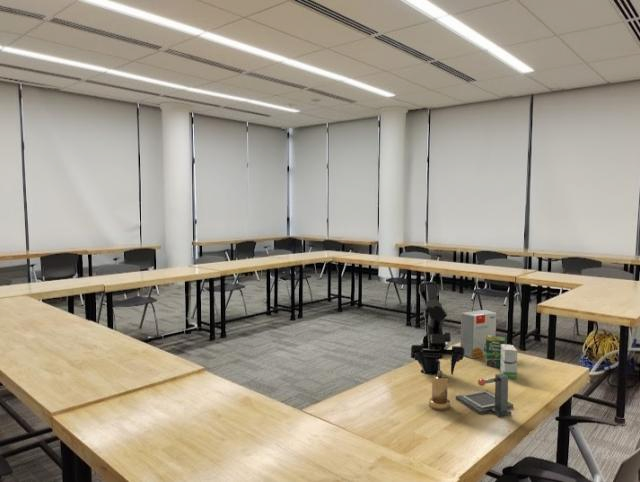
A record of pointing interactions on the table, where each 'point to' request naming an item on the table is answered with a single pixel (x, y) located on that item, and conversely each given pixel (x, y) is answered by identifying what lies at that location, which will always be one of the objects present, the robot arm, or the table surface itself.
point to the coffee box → (494, 350)
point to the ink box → (508, 361)
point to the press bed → (489, 398)
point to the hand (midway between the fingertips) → (438, 374)
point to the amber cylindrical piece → (439, 393)
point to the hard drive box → (476, 331)
